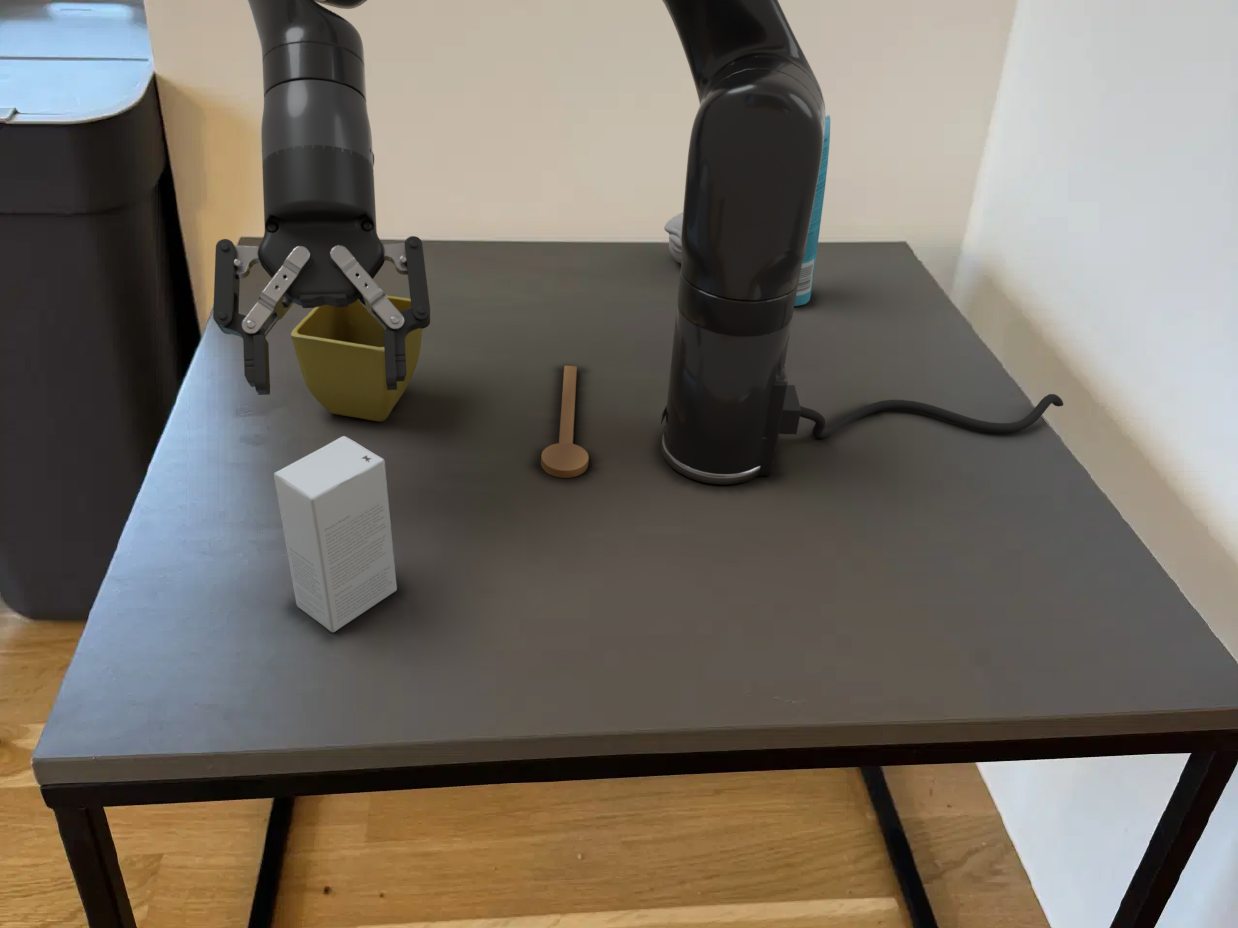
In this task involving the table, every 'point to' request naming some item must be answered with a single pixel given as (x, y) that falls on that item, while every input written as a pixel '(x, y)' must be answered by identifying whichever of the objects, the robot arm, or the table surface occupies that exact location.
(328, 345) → the flower pot
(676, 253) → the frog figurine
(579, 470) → the wooden spoon
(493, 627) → the table surface
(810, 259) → the tube
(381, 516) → the cosmetic box
